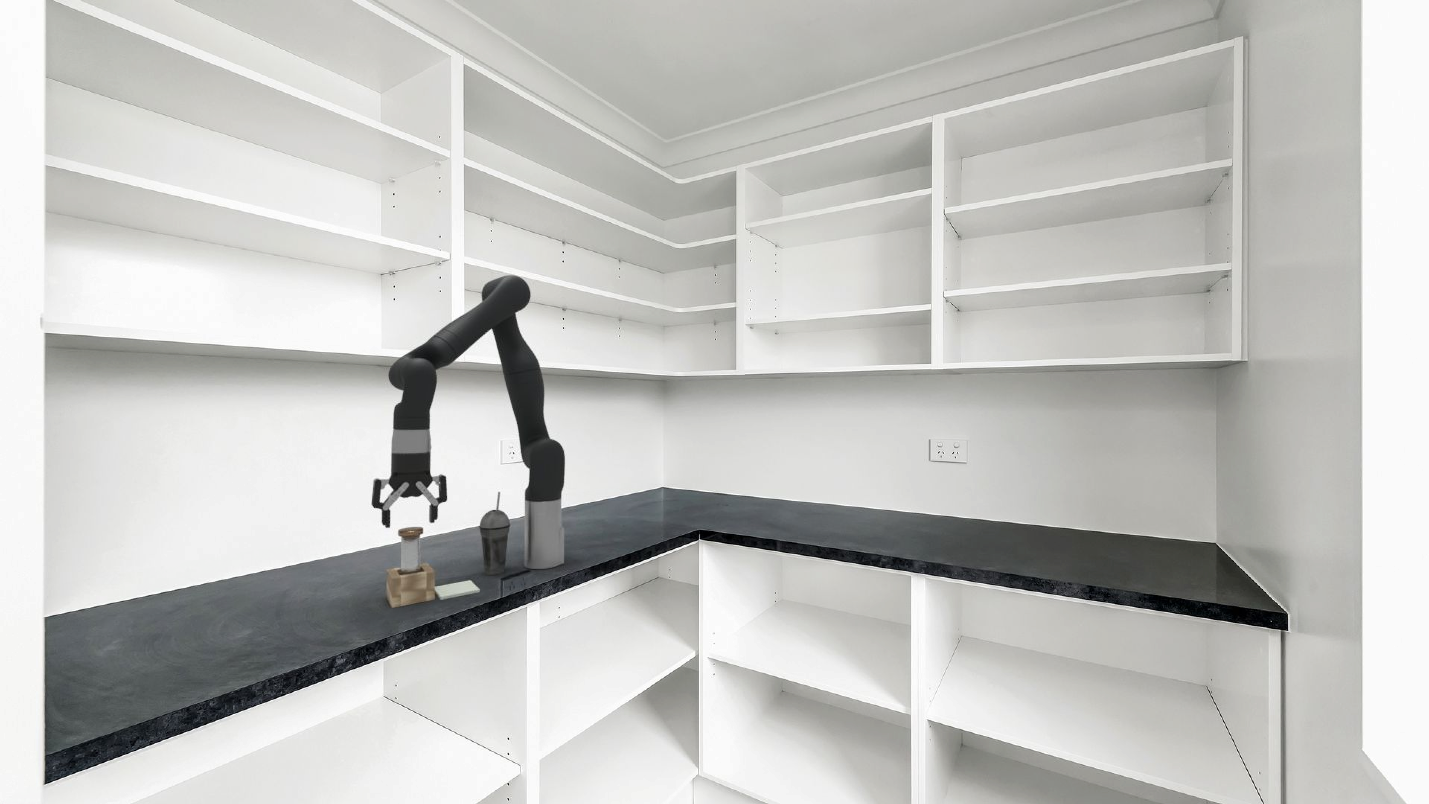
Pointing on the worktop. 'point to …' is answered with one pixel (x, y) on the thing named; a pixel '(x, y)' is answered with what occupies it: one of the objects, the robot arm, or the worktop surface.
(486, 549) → the beverage cup
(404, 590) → the oak eye block
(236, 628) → the worktop surface
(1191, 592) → the worktop surface
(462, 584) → the sage mat
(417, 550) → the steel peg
